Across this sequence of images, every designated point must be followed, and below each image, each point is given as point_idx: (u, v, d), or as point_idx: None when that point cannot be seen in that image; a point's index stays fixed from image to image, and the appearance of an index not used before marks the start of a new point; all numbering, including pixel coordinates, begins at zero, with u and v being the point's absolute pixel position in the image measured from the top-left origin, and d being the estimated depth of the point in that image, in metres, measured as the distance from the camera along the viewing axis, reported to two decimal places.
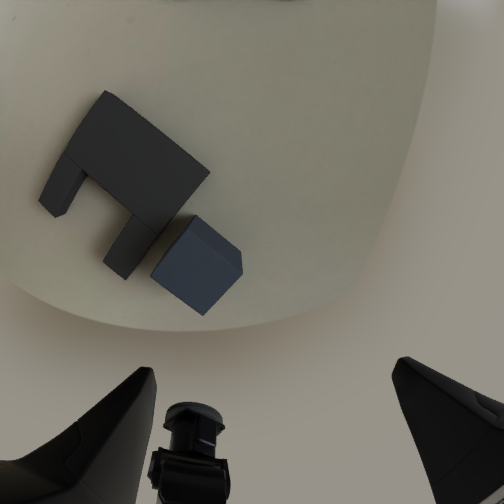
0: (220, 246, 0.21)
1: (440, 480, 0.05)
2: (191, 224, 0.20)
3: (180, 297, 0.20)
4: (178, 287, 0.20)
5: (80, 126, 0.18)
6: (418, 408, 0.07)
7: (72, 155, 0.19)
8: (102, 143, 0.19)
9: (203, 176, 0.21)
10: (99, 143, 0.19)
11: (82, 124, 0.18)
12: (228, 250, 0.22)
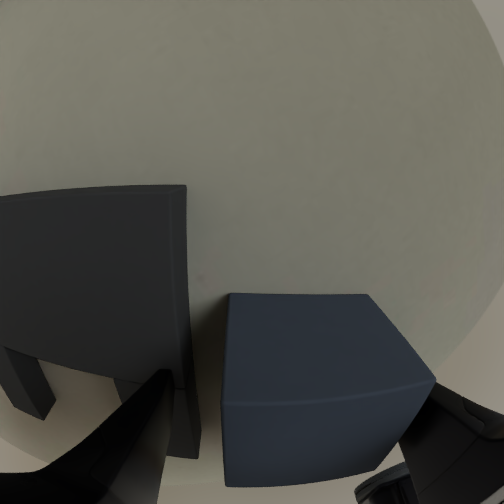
0: (338, 345, 0.07)
1: (425, 487, 0.05)
2: (228, 355, 0.06)
3: (314, 481, 0.06)
4: (299, 477, 0.06)
5: None
6: None
7: None
8: None
9: (166, 209, 0.07)
10: None
11: None
12: (357, 331, 0.07)
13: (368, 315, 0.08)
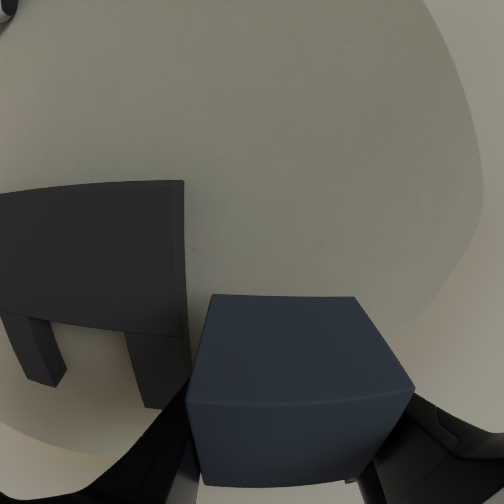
0: (312, 348, 0.07)
1: (396, 500, 0.05)
2: (200, 355, 0.06)
3: (293, 485, 0.06)
4: (276, 479, 0.06)
5: None
6: None
7: (7, 307, 0.10)
8: (16, 267, 0.10)
9: (171, 196, 0.10)
10: (14, 269, 0.10)
11: None
12: (335, 334, 0.07)
13: (351, 318, 0.08)
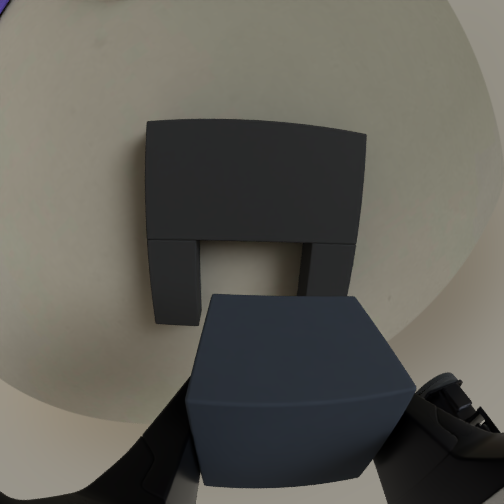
0: (313, 348, 0.07)
1: (396, 500, 0.05)
2: (200, 355, 0.06)
3: (293, 485, 0.06)
4: (276, 480, 0.06)
5: (148, 189, 0.14)
6: None
7: (166, 233, 0.15)
8: (203, 186, 0.14)
9: (364, 141, 0.14)
10: (198, 189, 0.14)
11: (149, 184, 0.14)
12: (336, 334, 0.07)
13: (351, 318, 0.08)
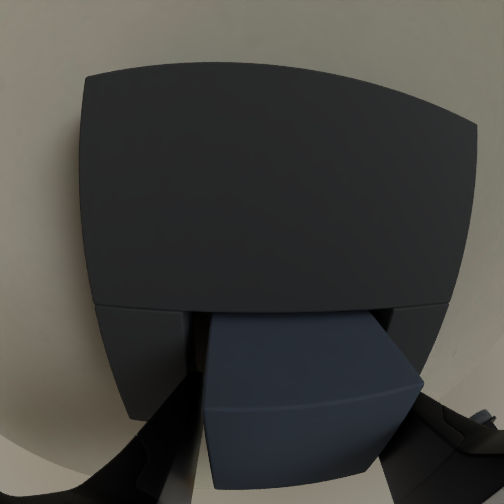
0: (322, 348, 0.07)
1: (402, 498, 0.05)
2: (210, 360, 0.06)
3: (303, 483, 0.06)
4: (287, 479, 0.06)
5: (85, 211, 0.06)
6: None
7: (125, 297, 0.07)
8: (193, 205, 0.06)
9: (475, 135, 0.06)
10: (183, 212, 0.06)
11: (86, 201, 0.06)
12: (342, 333, 0.07)
13: (355, 316, 0.08)
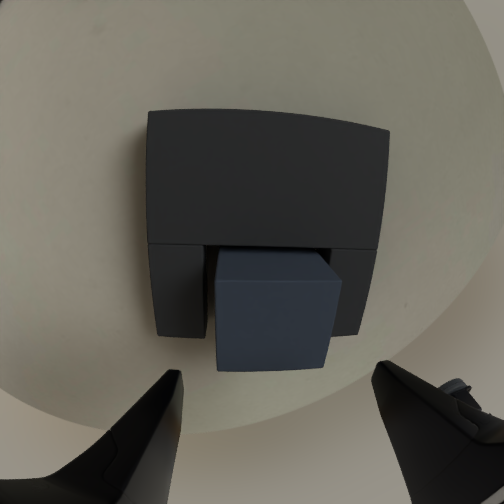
0: (281, 263, 0.13)
1: (418, 490, 0.05)
2: (219, 265, 0.12)
3: (277, 368, 0.12)
4: (265, 359, 0.12)
5: (149, 187, 0.12)
6: (397, 415, 0.07)
7: (169, 237, 0.13)
8: (211, 184, 0.12)
9: (387, 138, 0.12)
10: (206, 188, 0.12)
11: (150, 182, 0.12)
12: (296, 259, 0.13)
13: (306, 253, 0.14)
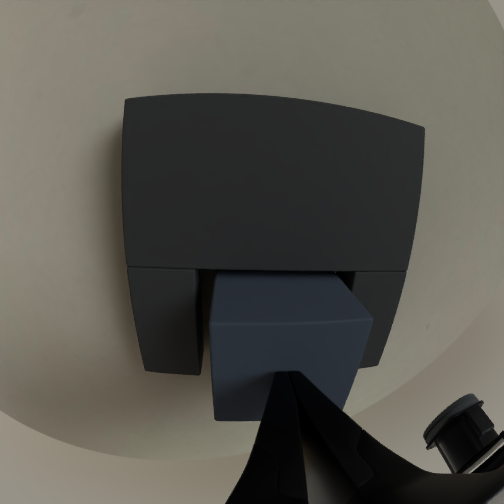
0: (295, 294, 0.10)
1: None
2: (215, 298, 0.09)
3: None
4: None
5: (125, 196, 0.09)
6: None
7: (152, 259, 0.10)
8: (205, 192, 0.09)
9: (422, 136, 0.09)
10: (197, 196, 0.09)
11: (127, 189, 0.09)
12: (312, 286, 0.10)
13: (324, 277, 0.11)
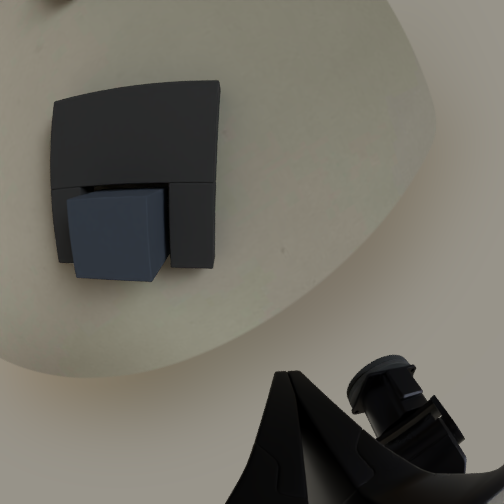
0: (121, 192, 0.15)
1: None
2: None
3: (114, 277, 0.14)
4: (104, 267, 0.14)
5: (52, 150, 0.14)
6: None
7: (62, 183, 0.15)
8: (84, 143, 0.15)
9: (216, 86, 0.14)
10: (81, 146, 0.15)
11: (52, 147, 0.14)
12: (136, 191, 0.15)
13: (152, 189, 0.16)
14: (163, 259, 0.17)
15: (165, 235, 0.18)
